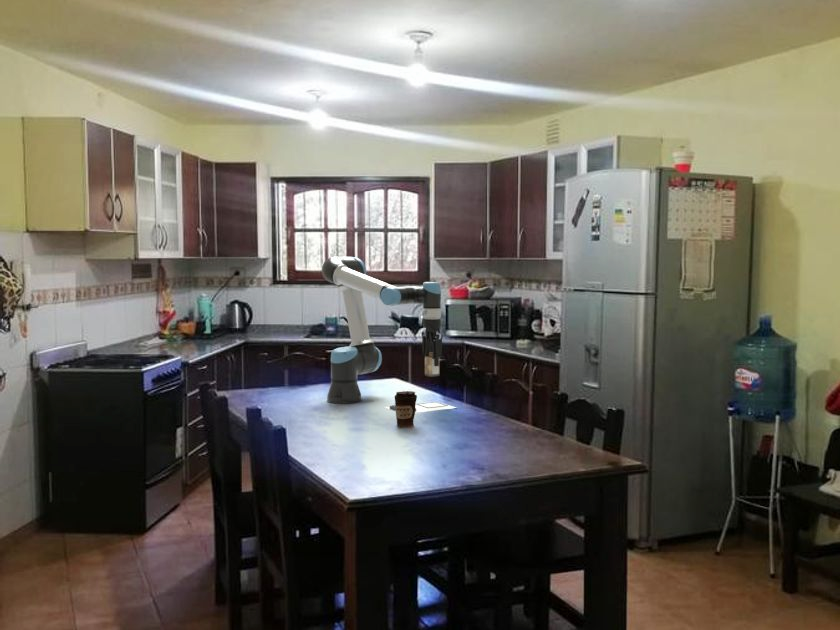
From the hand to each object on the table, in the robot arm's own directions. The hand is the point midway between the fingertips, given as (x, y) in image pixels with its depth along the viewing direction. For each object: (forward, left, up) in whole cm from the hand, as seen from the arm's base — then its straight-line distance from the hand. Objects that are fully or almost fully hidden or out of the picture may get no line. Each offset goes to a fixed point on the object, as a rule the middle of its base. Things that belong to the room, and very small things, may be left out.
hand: (432, 372), depth 326 cm
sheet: (+2, -7, -14) cm, 16 cm away
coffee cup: (+29, -30, -14) cm, 44 cm away
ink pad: (+3, -16, -14) cm, 21 cm away
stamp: (0, 0, -1) cm, 1 cm away
